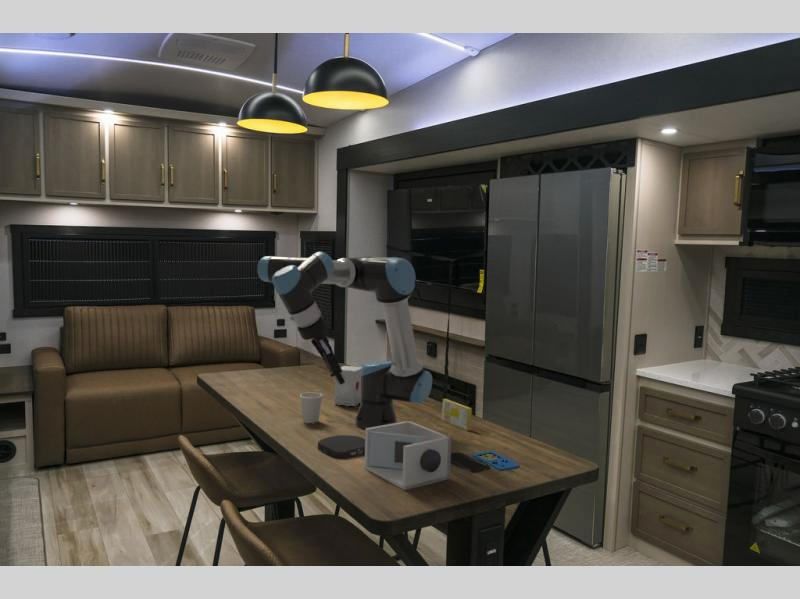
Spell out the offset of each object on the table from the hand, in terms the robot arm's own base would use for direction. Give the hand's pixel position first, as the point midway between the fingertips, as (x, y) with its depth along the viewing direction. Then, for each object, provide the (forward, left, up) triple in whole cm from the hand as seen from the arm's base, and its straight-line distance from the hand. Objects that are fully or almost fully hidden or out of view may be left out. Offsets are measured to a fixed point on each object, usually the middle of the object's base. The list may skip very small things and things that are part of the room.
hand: (346, 391), depth 178 cm
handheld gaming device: (-27, +40, -25) cm, 55 cm away
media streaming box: (-23, -8, -25) cm, 35 cm away
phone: (-22, +31, -25) cm, 46 cm away
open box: (-8, +16, -25) cm, 31 cm away
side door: (-7, +13, -23) cm, 28 cm away
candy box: (-62, +22, -25) cm, 70 cm away
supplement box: (-78, -25, -25) cm, 85 cm away
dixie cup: (-49, -30, -25) cm, 62 cm away
